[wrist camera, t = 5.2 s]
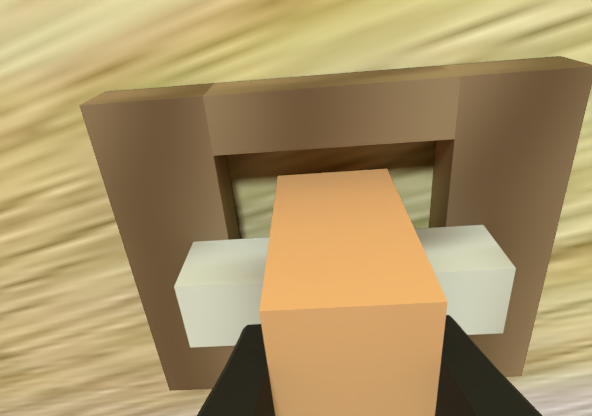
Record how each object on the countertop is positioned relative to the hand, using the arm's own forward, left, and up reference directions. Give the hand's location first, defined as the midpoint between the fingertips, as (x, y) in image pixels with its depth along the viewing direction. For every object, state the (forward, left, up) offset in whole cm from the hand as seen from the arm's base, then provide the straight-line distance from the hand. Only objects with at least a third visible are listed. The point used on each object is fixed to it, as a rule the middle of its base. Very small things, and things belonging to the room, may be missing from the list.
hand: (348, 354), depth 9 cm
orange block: (0, 0, -4) cm, 4 cm away
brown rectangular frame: (0, 0, -5) cm, 5 cm away
